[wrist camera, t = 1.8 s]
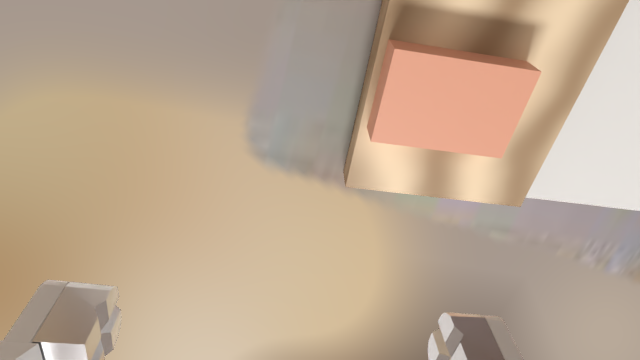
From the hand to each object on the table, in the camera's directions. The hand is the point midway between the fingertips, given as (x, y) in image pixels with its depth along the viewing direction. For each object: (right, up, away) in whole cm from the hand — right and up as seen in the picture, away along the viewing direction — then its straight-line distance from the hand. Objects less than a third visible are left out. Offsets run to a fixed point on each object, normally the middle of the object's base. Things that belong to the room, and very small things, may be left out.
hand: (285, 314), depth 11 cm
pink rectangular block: (+9, +9, +17) cm, 21 cm away
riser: (+11, +10, +19) cm, 24 cm away
